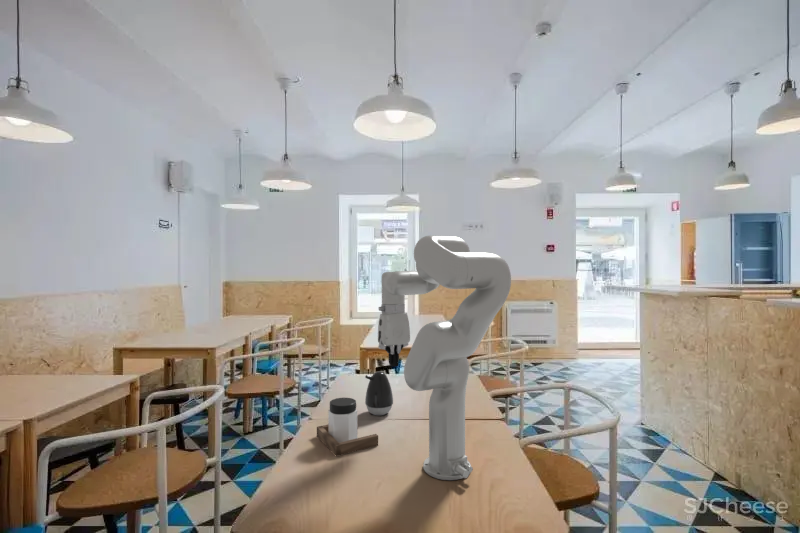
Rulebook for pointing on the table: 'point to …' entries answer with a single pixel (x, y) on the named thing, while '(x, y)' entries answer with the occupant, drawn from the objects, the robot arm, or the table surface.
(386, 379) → the pump dispenser
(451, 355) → the robot arm
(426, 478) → the table surface
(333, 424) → the jar
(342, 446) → the walnut bay
